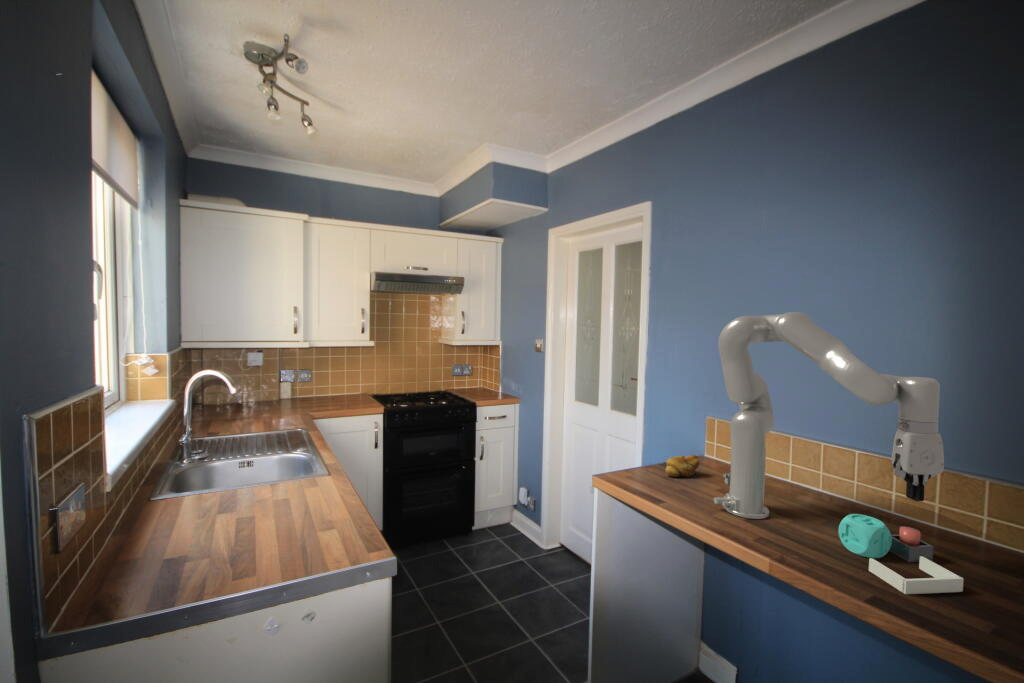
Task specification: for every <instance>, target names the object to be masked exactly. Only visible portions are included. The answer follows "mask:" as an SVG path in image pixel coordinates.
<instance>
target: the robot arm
mask: <svg viewBox="0 0 1024 683" xmlns="http://www.w3.org/2000/svg"><path fill="white" fill-rule="evenodd" d="M772 342H775V343H776V342H777V343H778V342H785V343H787V344H788V345H789V346H791V347H792V348H793V349H794V350H796V351H798V353H801V354H802V355H803V356H805V358H807V359H808V360H810V361H812V362H813V363H814V364H815V365H816V366H818V367H819V368H820V369H821V370H822V371H823V372H825V373H826V374H827V375H829V376H830V377H831V378H832V379H834V380H835V382H837V383H838V384H840V385H841V386H842V387H843V388H845V389H846V390H848V391H849V393H850V392H851V393H852V394H853V395H854V396H856V397H857V398H858V399H860V400H862V401H863V402H865V403H866V404H868V405H871V406H874V407H884V406H888V405H891V404H892V403H896V402H897V403H898V415H897V417H898V418H897V419H898V420H897V423H896V424H895V427H896V428H897V430H896V432H895V435H894V439H893V444H892V452H891V467H892V468H893V469H894V472H893V475H894V476H895V477H899V478H902V479H903V482H905V483H906V486H905V488H906V489H905V491H906V492H905V496H906V498H908V499H910V500H913V501H915V502H924V501H925V486H927V485H928V481H929V479H931V478H933V477H937V476H938V475H939V474H942V473H943V472H944V470H945V451H944V443H943V438H942V435H941V433H939V420H940V419H939V417H940V416H939V412H940V392H941V391H940V390H941V385H940V383H939V381H938V380H937V379H936V378H931V377H924V376H899V375H893V374H888V373H879V372H877V371H876V370H874V369H873V368H871V367H869V366H868V365H867V364H865V363H864V362H863V361H862V360H860V359H859V358H858V357H856V356H855V355H854V354H853V353H852V352H851V351H850V349H849V348H848V347H847V345H846V344H845V343H844V342H843V341H842V340H840V339H838V338H837V337H835V336H834V335H832V334H831V333H829V332H828V331H826V330H825V329H823V328H822V327H820V326H819V325H817V324H816V323H815V322H813V320H812V318H811V317H810V316H809V315H807V314H806V313H803V312H800V311H788V312H785V313H781V314H780V313H779V314H769V315H768V314H767V315H766V314H765V315H742V316H738V317H736V318H734V319H732V320H731V321H730V322H728V323H727V324H726V325H725V326H724V327H723V329H722V330H721V332H720V334H719V337H718V353H719V358H720V361H721V362H720V363H721V369H722V373H723V378H724V379H723V380H724V384H725V389H726V394H727V397H728V398H729V400H730V401H732V403H733V404H737V405H738V406H739V411H738V412H736V413H735V414H734V415H733V416H732V418H731V420H730V424H729V434H730V471H729V473H730V485H729V492H726V493H725V495H724V496H723V497H721V496H720V497H719V496H715V497H713V502H714V504H716V505H720V504H721V505H722V506H723V508H724V509H725V511H727V512H728V513H729V514H732V515H734V516H738V517H739V518H745V519H752V520H762V519H763V520H764V519H766V518H768V517H769V516H770V510H769V508H768V507H767V506H765V505H764V504H765V503H764V502H765V481H766V462H767V460H766V458H767V457H766V456H767V451H766V450H767V449H766V435H767V434H768V433H769V432H771V431H772V430H773V428H774V426H775V414H774V410H773V405H772V400H771V396H770V392H769V391H770V390H769V386H768V384H767V382H766V380H765V378H763V376H761V375H760V374H759V373H756V372H755V371H754V367H753V360H752V357H751V355H750V351H749V346H750V344H756V343H772Z"/></svg>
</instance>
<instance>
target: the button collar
mask: <svg viewBox="0 0 1024 683" xmlns="http://www.w3.org/2000/svg"><path fill="white" fill-rule="evenodd" d="M891 537H892V544H891V547H890V549H889V551H888V552H890V553H892V554H893V555H895V556H897V557H899V558H900V559H902V560H904V561H905V562H907V563H919V561H920V556H923V557H925V558H926V559H928V560H930V561H932V562H934V561H933V560H934V559H933V558H934V546H933V545H932V544H930V543H927V542H926V541H923V540H922V539H920V545H918V546H909V545H907V544H905V543H903V542H902V541H900V540H899V533H898V534H891Z"/></svg>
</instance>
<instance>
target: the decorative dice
mask: <svg viewBox="0 0 1024 683" xmlns="http://www.w3.org/2000/svg"><path fill="white" fill-rule="evenodd" d="M837 530H838V537H839V540H840V541H841V543H842V545H843V546H844V547H845V549H847V551H850V553H853V554H856V555H858V556H861V557H864V558H873V559H880V558H883V557H884V556H885V555H887V554H888V553H889V552H890V551H889V549H890V547H891V544H892V537H891V535H892V534H891V531H890V530H889V528H888V527H887V525H886V524H885V523H884V522H883V521H882V520H880V519H878V518H875V517H873V516H869V515H866V514H860V513H849V514H848V515H846V516H845V517H844V518H842V520H841V521H840V523H839V525H838V529H837Z"/></svg>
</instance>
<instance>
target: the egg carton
mask: <svg viewBox="0 0 1024 683" xmlns="http://www.w3.org/2000/svg"><path fill="white" fill-rule="evenodd" d="M722 477H723V478H724V483H725V485H728V486H730V472H724V473H723V476H722Z"/></svg>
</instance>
